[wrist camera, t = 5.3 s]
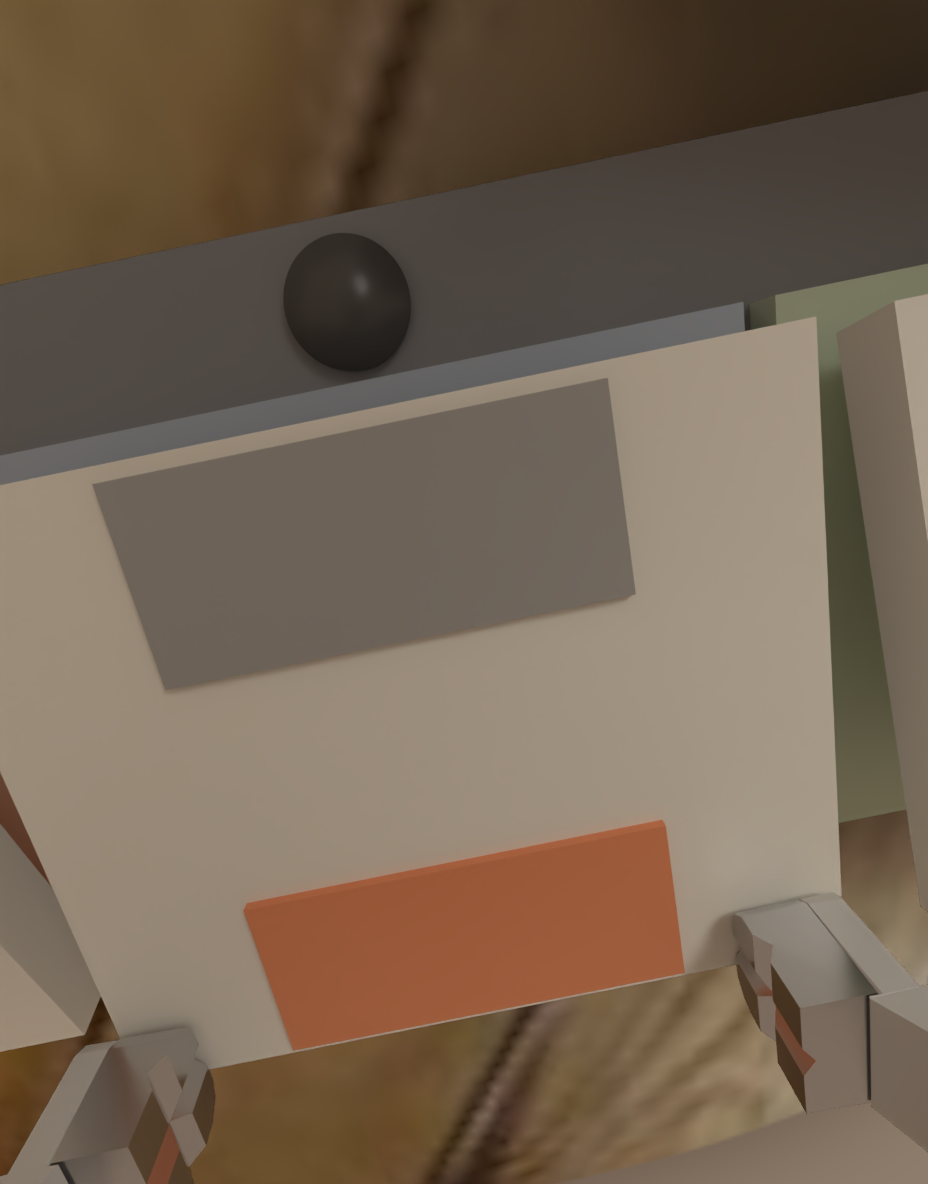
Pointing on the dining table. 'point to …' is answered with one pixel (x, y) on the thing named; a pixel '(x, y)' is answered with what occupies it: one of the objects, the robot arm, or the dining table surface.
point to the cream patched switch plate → (38, 959)
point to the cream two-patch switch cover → (897, 523)
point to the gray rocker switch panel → (503, 325)
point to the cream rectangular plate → (431, 697)
